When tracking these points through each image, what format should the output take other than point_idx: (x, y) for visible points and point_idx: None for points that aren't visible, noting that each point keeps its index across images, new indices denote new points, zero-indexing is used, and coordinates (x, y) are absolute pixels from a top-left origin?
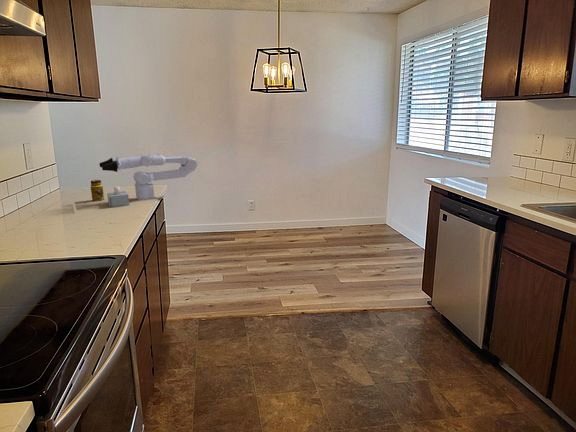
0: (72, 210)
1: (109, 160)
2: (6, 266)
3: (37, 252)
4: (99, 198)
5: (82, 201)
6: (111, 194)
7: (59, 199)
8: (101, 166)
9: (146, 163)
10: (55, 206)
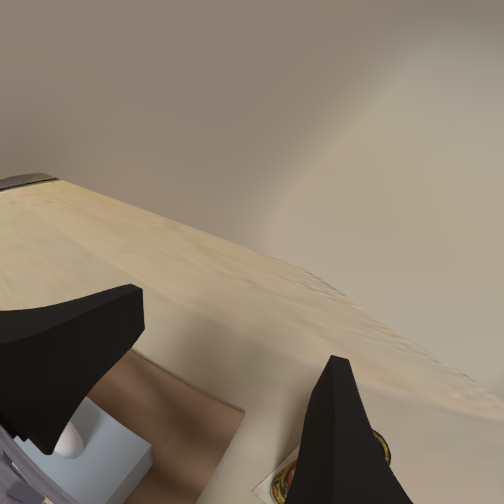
0: (222, 353)
1: (324, 499)
2: (51, 176)
3: (44, 191)
4: (278, 480)
5: None
6: (90, 420)
7: (439, 403)
8: (310, 401)
9: None
10: None
